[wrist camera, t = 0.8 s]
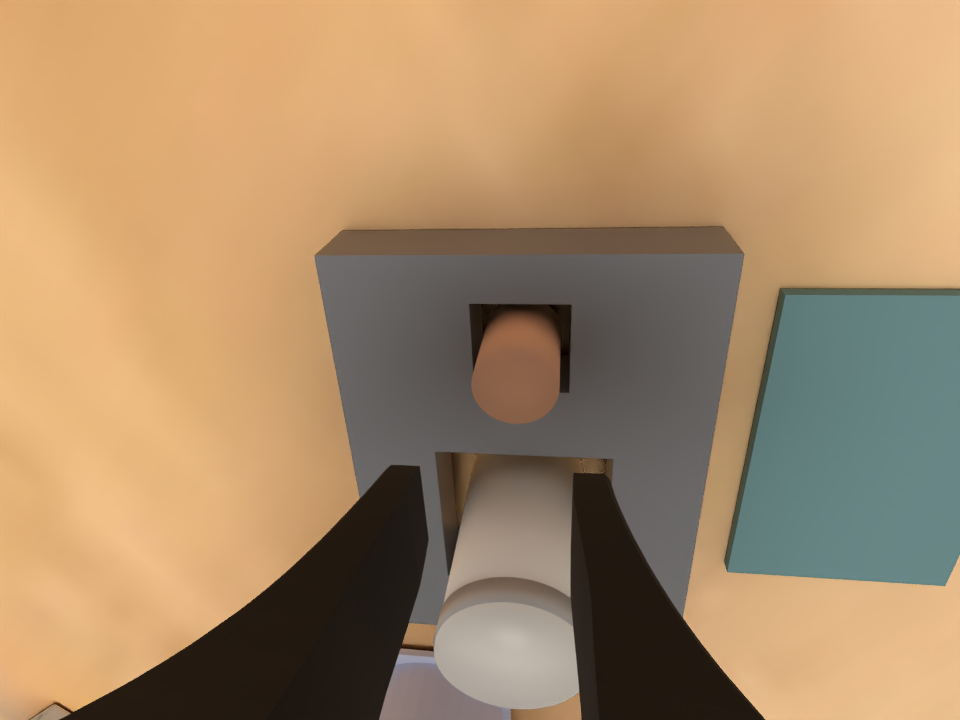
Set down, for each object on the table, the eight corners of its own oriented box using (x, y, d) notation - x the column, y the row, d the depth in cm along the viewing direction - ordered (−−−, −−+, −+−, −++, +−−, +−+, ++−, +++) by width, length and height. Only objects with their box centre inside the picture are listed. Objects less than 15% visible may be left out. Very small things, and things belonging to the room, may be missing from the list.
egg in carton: (560, 364, 20) (558, 425, 17) (487, 362, 20) (473, 422, 17) (561, 296, 19) (560, 349, 16) (484, 296, 19) (468, 347, 16)
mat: (938, 575, 23) (945, 585, 23) (724, 562, 25) (727, 571, 24) (1067, 289, 18) (1079, 296, 17) (780, 288, 19) (785, 294, 18)
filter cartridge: (583, 522, 24) (589, 717, 18) (474, 516, 25) (439, 702, 18) (587, 432, 22) (596, 614, 15) (468, 427, 23) (425, 600, 16)
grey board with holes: (668, 592, 26) (678, 644, 24) (397, 573, 27) (382, 620, 25) (723, 226, 18) (744, 253, 16) (342, 230, 20) (314, 255, 18)
